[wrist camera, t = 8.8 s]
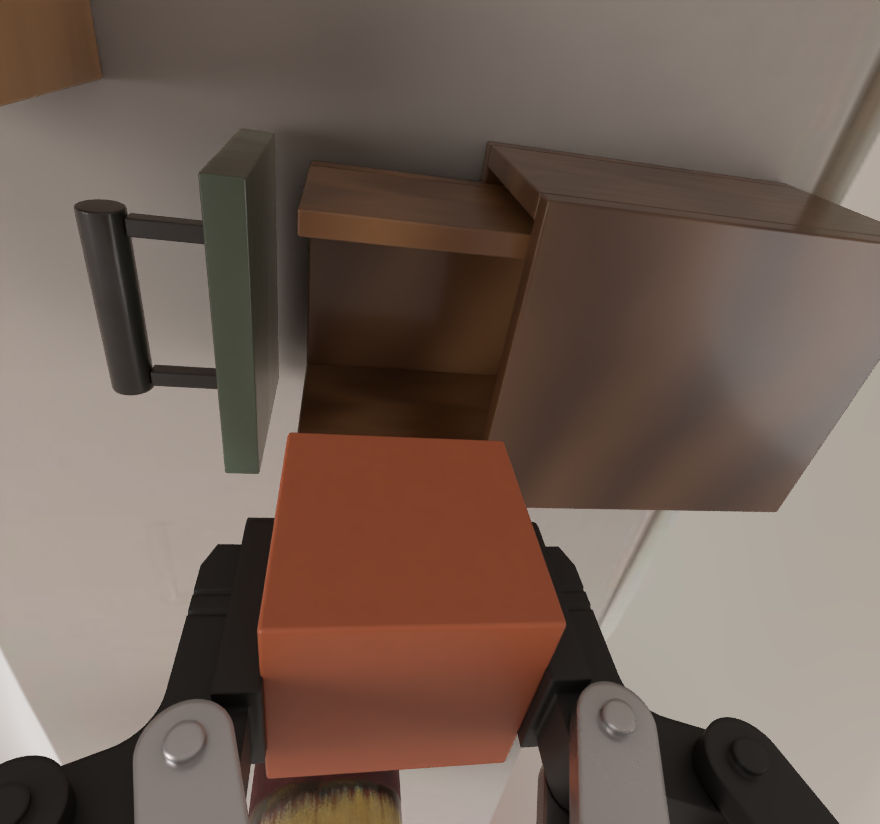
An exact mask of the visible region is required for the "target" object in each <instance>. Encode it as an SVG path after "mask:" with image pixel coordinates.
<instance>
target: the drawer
mask: <svg viewBox="0 0 880 824" xmlns="http://www.w3.org/2000/svg"><path fill="white" fill-rule="evenodd" d="M198 176H199V187H200V198H201V210H202V221H201V220H192V219H183V218H173V217H164V216H154V215H145V214H135V213H130V214H129V215H128V214H127V208H126V206H125V205H124V204H122V203H120V202H116V201H111V200H100V199H96V200H85V201H81V202H78V203H76V204H75V205H74V212H75V216H76V221H77V226H78V230H79V235H80V239H81V244H82V249H83V253H84V258H85V263H86V267H87V272H88V277H89V281H90V286H91V290H92V295H93V300H94V304H95V309H96V314H97V318H98V323H99V328H100V332H101V337H102V341H103V346H104V351H105V355H106V360H107V365H108V369H109V374H110V379H111V383H112V387H113V389H114V390H115V391H116V392H117V393H119V394H123V395H138V394H142V393H145V392H148V391H149V390H151V389H152V388H153V387H154V386H169V387H188V388H207V389H218V398H219V409H220V420H221V431H222V442H223V453H224V464H225V472H226V473H244V474H259V472H260V467H261V462H262V457H263V452H264V447H265V442H266V438H267V433H268V428H269V423H270V418H271V413H272V408H273V403H274V398H275V393H276V389H277V384H278V379H279V351H278V293H277V234H276V175H275V134H274V133H271V132H263V131H256V130H249V129H240V130H239V131H238V132H237V133H236V134H235V135H234V136H233V137H232V138H231V139H230V141H229V142H228V143H227V144H226V145H225V146H224V147H223V148H222V149H221V150H220V151H219V152H218V153H217V154H216V155H215V156H214V157H213V158H212V159H211V160H210V161H209V163H208V164H207V165H206V166H205V167H204V168H203V169H202V170H201V171H200V172H199V174H198ZM533 224H534V219H533V218H532V217H531V216H530V215H529V213H528V212H527V211H526V210H525V209H524V208H523V207H522V205H521V204H520V203H519V202H518V201H517V200H516V198H515V197H514V196H513V195H512V194H511V193H510V191H509V190H508V189H507V188H506V187H505V186H504V185H497V184H489V183H482V182H474V181H466V180H458V179H451V178H443V177H435V176H427V175H420V174H412V173H404V172H396V171H389V170H381V169H373V168H365V167H358V166H350V165H342V164H334V163H327V162H319V161H312V162H311V164H310V167H309V171H308V174H307V178H306V182H305V185H304V189H303V192H302V196H301V199H300V203H299V206H298V210H297V234H298V236H300V237H309V246H308V311H307V366H306V373H305V380H304V388H303V395H302V403H301V410H300V418H299V426H298V433H315V434H340V435H365V436H389V437H414V438H439V439H463V440H482V437H483V433H484V429H485V425H486V420H487V416H488V412H489V408H490V404H491V399H492V395H493V391H494V387H495V383H496V379H497V374H498V370H499V366H500V362H501V358H502V354H503V349H504V345H505V341H506V337H507V333H508V328H509V324H510V320H511V316H512V312H513V308H514V303H515V299H516V295H517V291H518V287H519V283H520V278H521V274H522V270H523V266H524V262H525V258H526V253H527V249H528V245H529V241H530V237H531V232H532V228H533ZM131 237H137V238H147V239H157V240H167V241H177V242H187V243H198V244H205V254H206V265H207V276H208V287H209V298H210V309H211V320H212V331H213V342H214V353H215V364H216V368H201V367H184V366H168V365H154V367H153V366H152V360H151V354H150V348H149V342H148V336H147V330H146V324H145V318H144V311H143V305H142V299H141V293H140V287H139V281H138V275H137V269H136V263H135V256H134V250H133V244H132V238H131Z"/></svg>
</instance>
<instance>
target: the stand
mask: <svg viewBox="0 0 880 824" xmlns="http://www.w3.org/2000/svg"><path fill="white" fill-rule="evenodd" d="M99 79H102V73H101V67H100V61H99V55H98V49H97V43H96V37H95V31H94V25H93V19H92V13H91V6H90V0H0V106H3V105H7V104H10V103H14V102H18V101H21V100H25V99H29V98H33V97H36V96H40V95H44V94H47V93H51V92H55V91H58V90H62V89H66V88H69V87H73V86H77V85H81V84H84V83H88V82H92V81H95V80H99Z"/></svg>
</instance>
